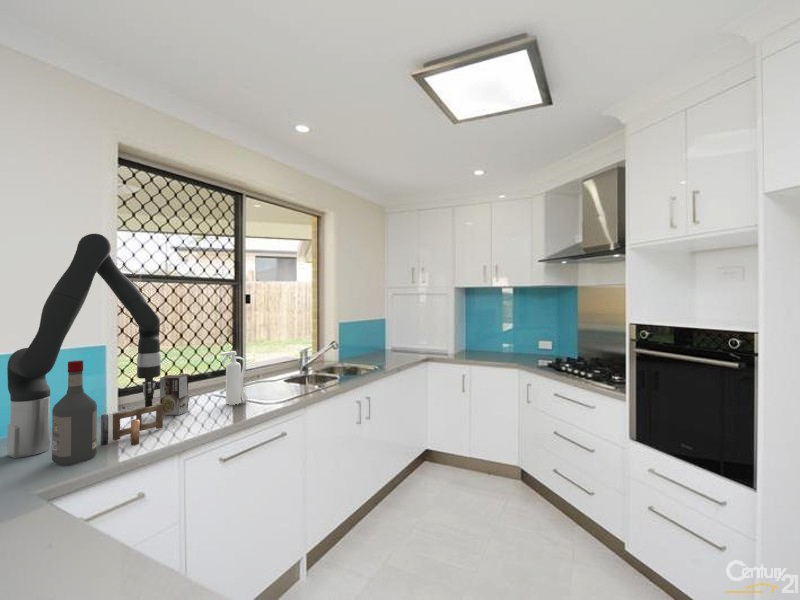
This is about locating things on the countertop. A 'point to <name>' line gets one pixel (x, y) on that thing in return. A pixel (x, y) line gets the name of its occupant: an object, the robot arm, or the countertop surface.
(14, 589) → the countertop surface
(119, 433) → the gate
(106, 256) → the robot arm
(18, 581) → the countertop surface
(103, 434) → the hinge post
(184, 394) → the coffee box
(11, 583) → the countertop surface
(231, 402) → the fire extinguisher
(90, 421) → the liquor
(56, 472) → the countertop surface
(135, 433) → the post
